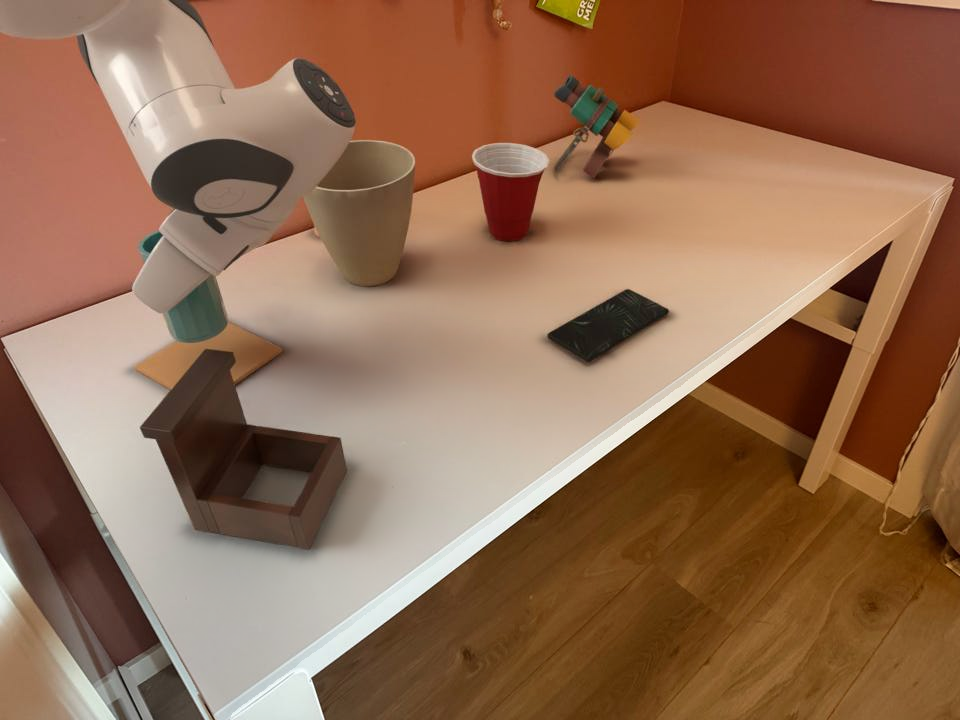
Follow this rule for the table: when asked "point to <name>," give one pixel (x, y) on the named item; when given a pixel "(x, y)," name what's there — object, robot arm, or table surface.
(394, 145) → the plant pot
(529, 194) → the plastic cup
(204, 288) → the cup
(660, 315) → the smartphone
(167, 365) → the mat
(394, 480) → the table surface
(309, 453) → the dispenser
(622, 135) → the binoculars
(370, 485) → the table surface
